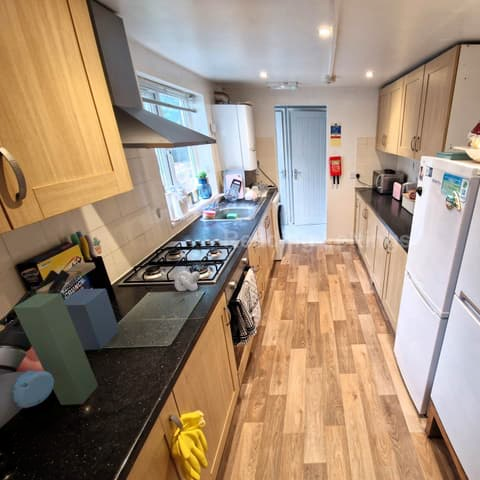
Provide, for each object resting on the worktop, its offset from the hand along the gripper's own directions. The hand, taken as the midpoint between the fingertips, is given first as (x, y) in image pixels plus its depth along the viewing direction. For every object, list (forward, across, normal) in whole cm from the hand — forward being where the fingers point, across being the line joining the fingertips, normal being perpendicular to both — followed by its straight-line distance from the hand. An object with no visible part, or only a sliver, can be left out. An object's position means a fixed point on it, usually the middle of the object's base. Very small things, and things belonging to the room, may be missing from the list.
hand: (60, 272), depth 83 cm
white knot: (+20, -19, +48) cm, 55 cm away
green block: (-32, -11, +18) cm, 38 cm away
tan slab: (-1, 0, +4) cm, 4 cm away
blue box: (-12, 0, +29) cm, 32 cm away
